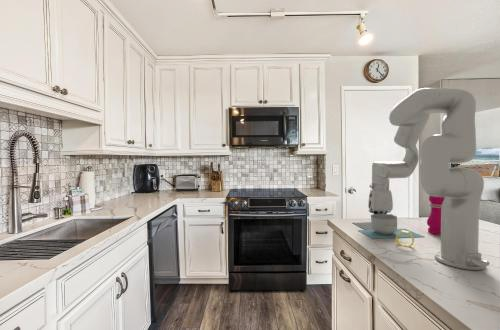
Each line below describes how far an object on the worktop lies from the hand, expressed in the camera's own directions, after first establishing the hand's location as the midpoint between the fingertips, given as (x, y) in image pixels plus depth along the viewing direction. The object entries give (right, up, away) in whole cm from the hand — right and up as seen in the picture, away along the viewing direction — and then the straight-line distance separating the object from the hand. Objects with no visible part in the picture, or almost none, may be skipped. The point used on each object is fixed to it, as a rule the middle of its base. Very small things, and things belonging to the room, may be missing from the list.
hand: (379, 224), depth 120 cm
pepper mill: (+23, -3, -7) cm, 24 cm away
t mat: (0, -2, -1) cm, 3 cm away
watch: (-2, -3, -23) cm, 23 cm away
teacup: (0, -2, -6) cm, 7 cm away
